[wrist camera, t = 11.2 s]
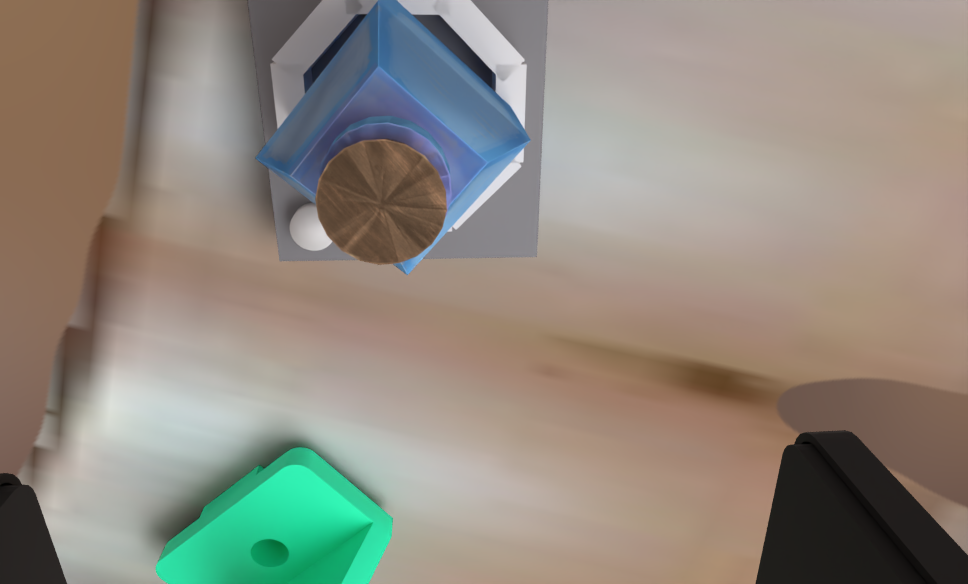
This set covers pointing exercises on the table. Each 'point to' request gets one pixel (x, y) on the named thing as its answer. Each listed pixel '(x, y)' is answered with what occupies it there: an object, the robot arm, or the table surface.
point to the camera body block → (475, 41)
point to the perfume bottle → (394, 140)
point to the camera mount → (282, 530)
